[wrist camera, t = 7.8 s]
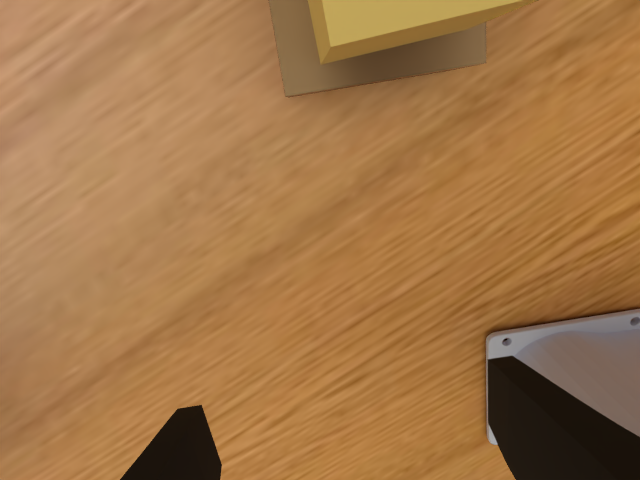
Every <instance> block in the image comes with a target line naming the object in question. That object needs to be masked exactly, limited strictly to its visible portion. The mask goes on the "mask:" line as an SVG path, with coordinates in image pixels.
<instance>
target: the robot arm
mask: <svg viewBox="0 0 640 480" xmlns="http://www.w3.org/2000/svg"><path fill="white" fill-rule="evenodd" d="M505 338H508V339H507V340H506V341H504V342H502V341H503V340H504V339H505ZM486 403H487V438H488V440H489V442H490V443H491V444H494V445H498V446H499V448H500V450H501V452H502V454H503V457H504V459H505V461H506V463H507V465H508V467H509V468H510V470H511V472H512V474H513V475H514V477H515V479H516V480H640V309H635V310H629V311H623V312H617V313H610V314H604V315H598V316H592V317H585V318H579V319H573V320H567V321H560V322H554V323H548V324H542V325H536V326H529V327H523V328H517V329H511V330H504V331H498V332H493V333H491V334H490V335H488V337H487V338H486ZM221 466H222V464H221V461H220V458H219V455H218V452H217V449H216V446H215V443H214V441H213V438H212V435H211V432H210V429H209V426H208V423H207V420H206V417H205V414H204V411H203V408H202V405H199V406H192V407H186V408H180V409H177V410H176V411H175V413H174V414H173V415H172V416H171V417H170V419H169V420H168V421H167V422H166V424H165V425H164V426H163V427H162V429H161V430H160V431H159V432H158V434H157V435H156V436H155V437H154V439H153V440H152V441H151V442H150V444H149V445H148V446H147V447H146V449H145V450H144V451H143V452H142V454H141V455H140V456H139V457H138V458H137V460H136V461H135V462H134V463H133V465H132V466H131V467H130V468H129V469H128V471H127V472H126V473H125V474H124V475H123V477H122V478H121V479H120V480H220V476H221Z"/></svg>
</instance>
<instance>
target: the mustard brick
mask: <svg viewBox="0 0 640 480" xmlns="http://www.w3.org/2000/svg"><path fill="white" fill-rule="evenodd" d="M536 1H538V0H308V4H309V9H310V14H311V19H312V24H313V29H314V34H315V39H316V44H317V48H318V53H319V58H320V63H321V65H322V64H326V63H330V62H335V61H339V60H343V59H347V58H351V57H355V56H359V55H364V54H368V53H372V52H376V51H380V50H384V49H388V48H393V47H397V46H401V45H405V44H409V43H413V42H417V41H422V40H426V39H430V38H434V37H438V36H442V35H446V34H451V33H455V32H459V31H463V30H467V29H470V28H472V27H474V26H477V25H479V24H482V23H484V22H487V21H489V20H492V19H494V18H496V17H499V16H501V15H504V14H506V13H509V12H511V11H514V10H516V9H518V8H521V7H523V6H526V5H528V4H531V3H533V2H536Z"/></svg>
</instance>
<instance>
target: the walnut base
mask: <svg viewBox="0 0 640 480" xmlns="http://www.w3.org/2000/svg"><path fill="white" fill-rule="evenodd" d="M269 5H270V11H271V17H272V22H273V28H274V34H275V39H276V45H277V51H278V57H279V62H280V68H281V74H282V79H283V85H284V91H285V96H286V97H293V96H299V95H305V94H311V93H317V92H323V91H329V90H335V89H341V88H347V87H353V86H359V85H365V84H371V83H377V82H383V81H389V80H395V79H401V78H407V77H413V76H419V75H425V74H432V73H438V72H444V71H449V70H454V69H459V68H464V67H469V66H474V65H479V64H484V63H486V22H484V23H482V24H479V25H477V26H474V27H472V28H470V29H467V30H463V31H459V32H455V33H451V34H446V35H442V36H438V37H434V38H430V39H426V40H422V41H417V42H413V43H409V44H405V45H401V46H397V47H393V48H388V49H384V50H380V51H376V52H372V53H368V54H364V55H359V56H355V57H351V58H347V59H343V60H339V61H335V62H330V63H326V64H322V65H321V63H320V58H319V53H318V48H317V44H316V39H315V34H314V29H313V24H312V19H311V14H310V9H309V4H308V0H269Z"/></svg>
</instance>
